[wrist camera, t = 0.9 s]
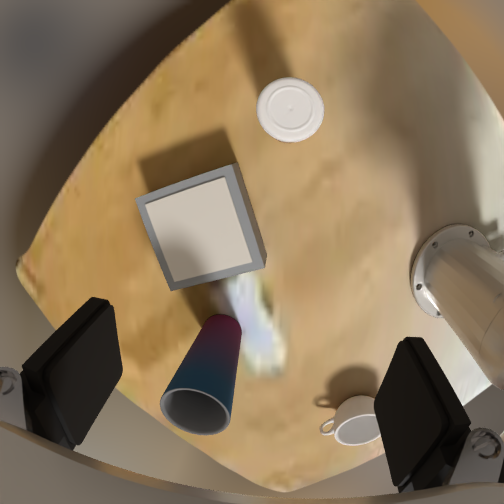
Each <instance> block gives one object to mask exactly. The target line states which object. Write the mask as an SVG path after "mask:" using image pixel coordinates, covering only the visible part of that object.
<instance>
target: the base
mask: <svg viewBox="0 0 504 504" xmlns="http://www.w3.org/2000/svg"><path fill="white" fill-rule="evenodd" d="M135 200H136V203H137V206H138V209H139V211H140V214H141V217H142V220H143V222H144V225H145V228H146V230H147V233H148V236H149V238H150V241H151V244H152V246H153V249H154V251H155V254H156V256H157V259H158V261H159V264H160V266H161V269H162V271H163V274H164V276H165V279H166V281H167V283H168V286H169V288H170V290H171V291H173V290H177V289H181V288H186V287H190V286H194V285H198V284H202V283H206V282H210V281H214V280H218V279H222V278H226V277H230V276H234V275H238V274H242V273H246V272H250V271H254V270H258V269H262V268H265V264H266V258H267V253H266V250H265V247H264V244H263V240H262V237H261V234H260V231H259V228H258V225H257V221H256V218H255V215H254V212H253V209H252V206H251V202H250V199H249V196H248V193H247V190H246V187H245V184H244V180H243V177H242V174H241V171H240V168H239V165H238V162H237V163H234V164H230V165H227V166H224V167H221V168H218V169H215V170H212V171H209V172H206V173H203V174H200V175H197V176H195V177H192V178H189V179H186V180H183V181H180V182H178V183H175V184H172V185H169V186H167V187H164V188H161V189H159V190H156V191H153V192H151V193H148V194H146V195H143V196H140V197H138V198H135Z"/></svg>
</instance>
